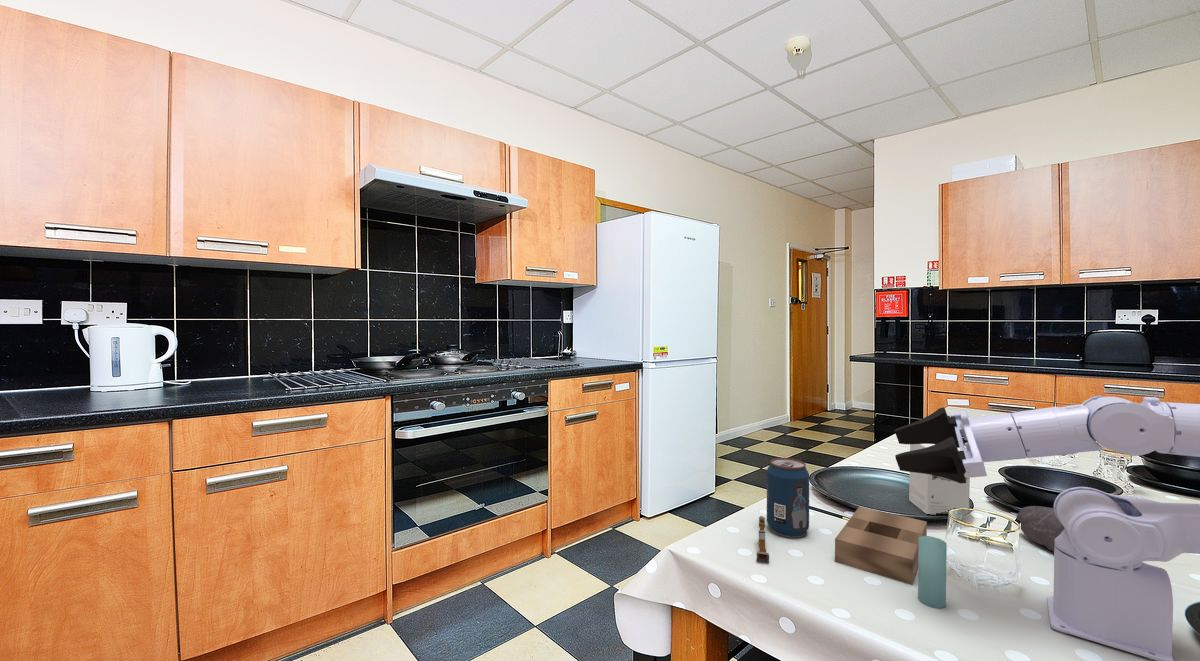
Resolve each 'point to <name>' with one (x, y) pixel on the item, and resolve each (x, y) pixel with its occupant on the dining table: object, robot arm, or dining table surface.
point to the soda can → (788, 497)
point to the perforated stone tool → (1040, 525)
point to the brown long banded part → (762, 542)
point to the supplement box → (937, 490)
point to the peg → (932, 571)
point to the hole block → (881, 543)
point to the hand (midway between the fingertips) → (897, 449)
